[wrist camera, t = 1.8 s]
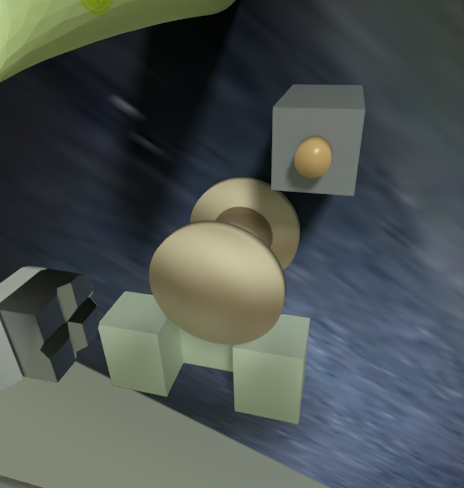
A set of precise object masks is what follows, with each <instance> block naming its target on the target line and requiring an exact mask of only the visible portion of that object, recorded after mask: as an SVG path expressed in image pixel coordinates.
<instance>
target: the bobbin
mask: <svg viewBox="0 0 464 488" xmlns="http://www.w3.org/2000/svg"><path fill="white" fill-rule="evenodd" d="M299 239H300V223H299V219H298V215H297V213H296V211H295V209H294V207H293V205H292V204H291V202H290V201H289V200H288V198H287V197H286V196H285V195H284V194H283V193H282V192H281V191H279V190H271V185H270V184H269V183H267V182H264V181H262V180H258V179H255V178H249V177H234V178H229V179H225V180H222V181H220V182H218V183H216V184H214V185H213V186H211V187H210V188H209V189H208V190H207V191H206V192H205V193H204V194H203V195H202V196H201V198H200V199H199V200H198V202H197V203H196V205H195V207H194V209H193V211H192V215H191V220H190V223H189V224H186V225H183V226H181V227H180V228H178V229H176V230H175V231H173V232H172V233H171V234H170V235H169V236H168V237H167V238H166V239H165V240H164V241H163V243H162V244H161V245H160V246H159V247H158V249H157V250H156V252H155V253H154V255H153V258H152V260H151V264H150V268H149V281H150V286H151V290H152V293H153V296H154V298H155V300H156V302H157V304H158V305H159V307H160V308H161V310H162V311H163V312H164V314H165V315H166V316H167V317H168V318H169V319H170V320H171V321H172V322H173V323H174V324H176V325H177V326H178V327H179V328H181V329H182V330H184V331H185V332H187V333H189V334H191V335H192V336H195V337H197V338H199V339H202V340H205V341H208V342H212V343H216V344H224V345H235V344H243V343H248V342H251V341H254V340H256V339H258V338H260V337H262V336H263V335H265V334H266V333H268V332H269V331H270V330H271V329H272V328H273V327H274V325H275V324H276V323H277V321H278V319H279V317H280V315H281V312H282V309H283V305H284V300H285V295H286V280H285V275H284V272H283V270H284V269H285V268H286V267H287V266H288V265H289V264H290V263H291V261H292V260H293V258H294V256H295V254H296V251H297V247H298V244H299Z"/></svg>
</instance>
